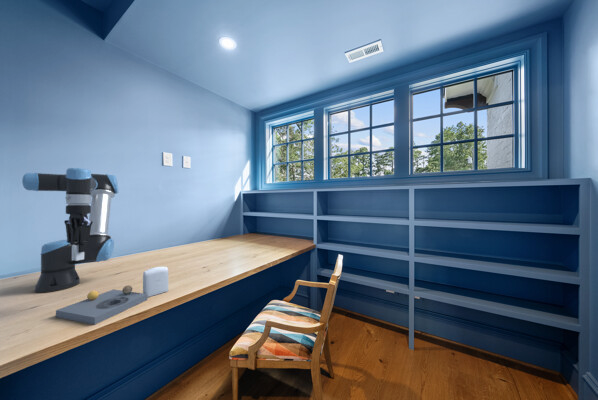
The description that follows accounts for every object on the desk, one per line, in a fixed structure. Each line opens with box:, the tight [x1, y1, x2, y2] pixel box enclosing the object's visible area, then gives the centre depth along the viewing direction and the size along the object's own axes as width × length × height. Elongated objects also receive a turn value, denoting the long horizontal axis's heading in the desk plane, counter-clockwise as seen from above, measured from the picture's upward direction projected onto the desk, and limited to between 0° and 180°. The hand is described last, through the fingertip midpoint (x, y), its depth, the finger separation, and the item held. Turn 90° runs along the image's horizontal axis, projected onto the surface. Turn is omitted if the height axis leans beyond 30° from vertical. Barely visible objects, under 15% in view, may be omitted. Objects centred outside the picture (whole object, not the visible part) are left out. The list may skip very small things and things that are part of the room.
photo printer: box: [142, 266, 169, 298], centre depth 102 cm, size 10×4×12 cm, turn 140°
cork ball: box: [122, 285, 133, 294], centre depth 96 cm, size 4×4×4 cm
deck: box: [55, 289, 149, 326], centre depth 88 cm, size 20×20×2 cm
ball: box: [86, 290, 100, 300], centre depth 90 cm, size 4×4×4 cm
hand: (78, 259), depth 93 cm, fingers closed
